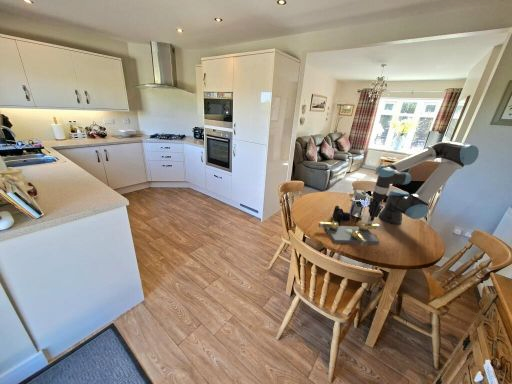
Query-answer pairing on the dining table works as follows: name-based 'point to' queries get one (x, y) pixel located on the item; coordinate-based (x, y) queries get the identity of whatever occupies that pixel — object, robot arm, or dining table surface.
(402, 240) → the dining table surface
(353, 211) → the milk carton
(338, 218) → the camera
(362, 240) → the knob left
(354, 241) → the level plate
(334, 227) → the knob
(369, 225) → the knob
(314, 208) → the dining table surface
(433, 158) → the robot arm
